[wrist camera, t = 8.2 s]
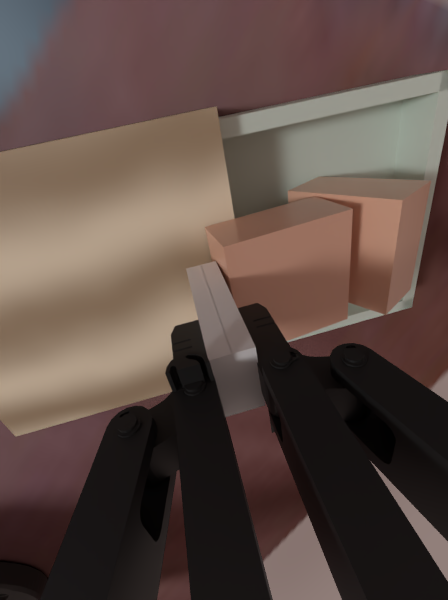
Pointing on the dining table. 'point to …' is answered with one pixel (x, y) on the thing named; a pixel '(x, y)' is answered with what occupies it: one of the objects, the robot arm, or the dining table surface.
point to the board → (102, 262)
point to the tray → (339, 148)
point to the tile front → (288, 262)
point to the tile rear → (377, 233)
